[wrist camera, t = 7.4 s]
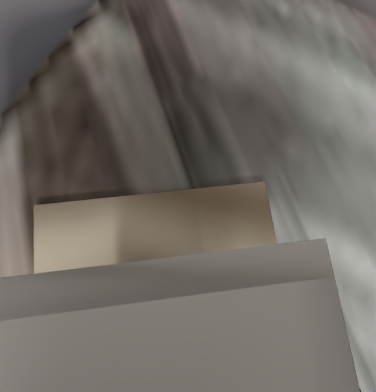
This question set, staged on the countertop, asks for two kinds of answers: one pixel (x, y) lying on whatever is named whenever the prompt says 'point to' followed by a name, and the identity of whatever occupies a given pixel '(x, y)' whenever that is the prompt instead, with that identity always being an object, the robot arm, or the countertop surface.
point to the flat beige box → (151, 226)
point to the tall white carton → (180, 325)
